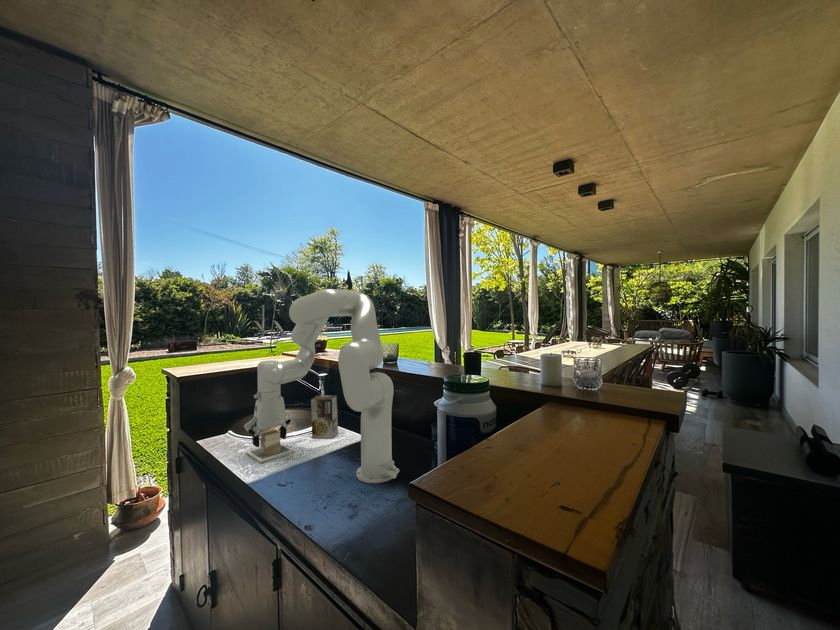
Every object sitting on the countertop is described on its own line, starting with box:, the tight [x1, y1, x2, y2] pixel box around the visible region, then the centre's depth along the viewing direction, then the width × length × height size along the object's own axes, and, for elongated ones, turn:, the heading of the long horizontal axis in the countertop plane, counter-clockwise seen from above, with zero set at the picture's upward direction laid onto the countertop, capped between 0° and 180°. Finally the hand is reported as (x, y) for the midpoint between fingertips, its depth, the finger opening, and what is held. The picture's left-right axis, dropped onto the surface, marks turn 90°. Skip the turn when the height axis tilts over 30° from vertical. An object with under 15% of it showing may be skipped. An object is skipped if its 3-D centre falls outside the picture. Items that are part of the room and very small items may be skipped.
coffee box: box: [310, 394, 339, 439], centre depth 141 cm, size 9×6×16 cm
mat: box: [245, 442, 295, 464], centre depth 124 cm, size 12×12×1 cm
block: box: [259, 428, 281, 456], centre depth 124 cm, size 5×5×7 cm
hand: (270, 442), depth 124 cm, fingers open, 9 cm apart
